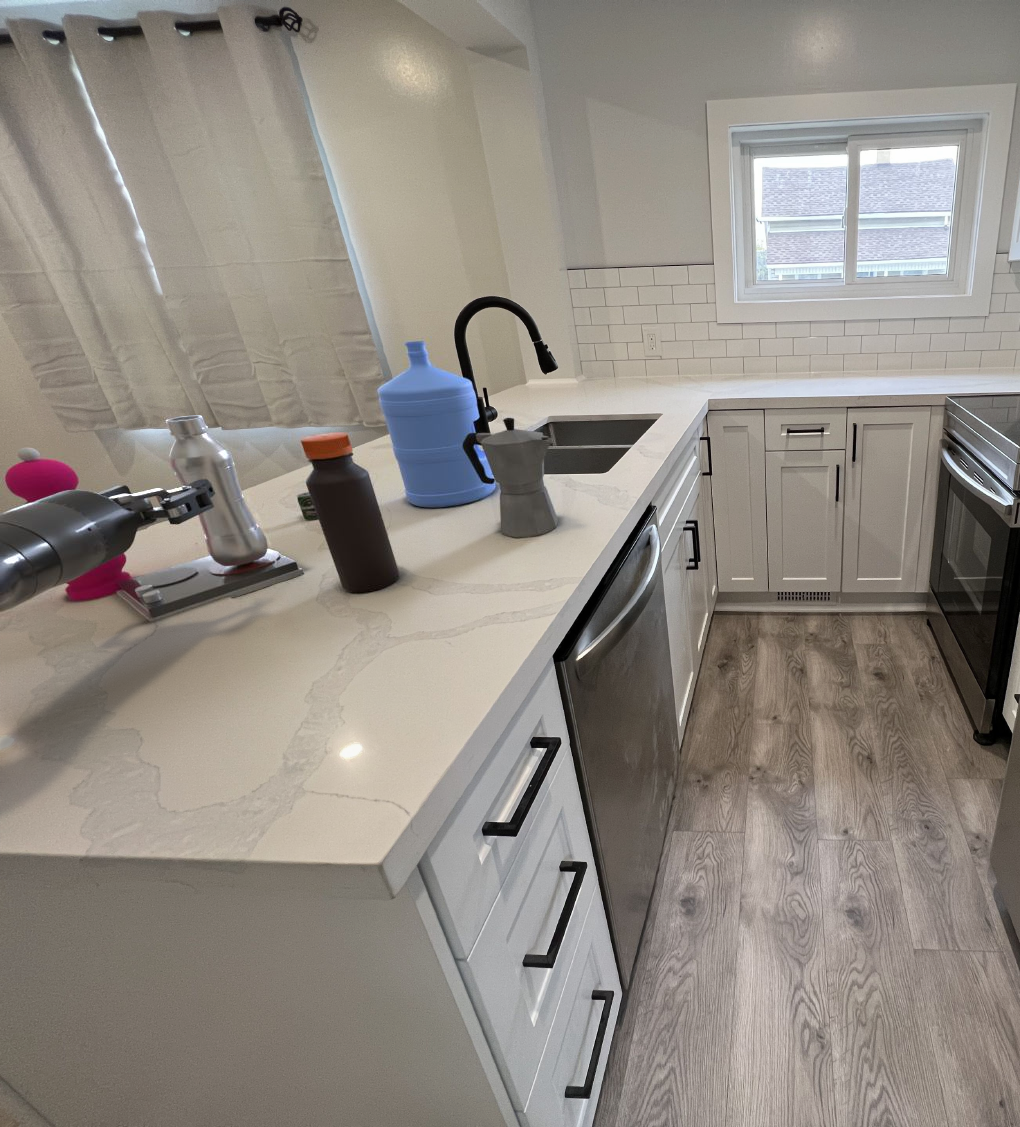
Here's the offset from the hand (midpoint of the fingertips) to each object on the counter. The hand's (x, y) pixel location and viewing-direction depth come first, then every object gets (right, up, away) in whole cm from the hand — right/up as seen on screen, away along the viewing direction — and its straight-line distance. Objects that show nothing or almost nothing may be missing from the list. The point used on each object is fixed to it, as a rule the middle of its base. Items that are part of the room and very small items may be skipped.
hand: (168, 490), depth 72 cm
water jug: (+12, +4, +44) cm, 46 cm away
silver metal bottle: (-1, -9, +12) cm, 15 cm away
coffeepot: (+33, -3, +27) cm, 43 cm away
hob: (-4, -12, +11) cm, 17 cm away
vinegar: (+18, -12, +10) cm, 24 cm away
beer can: (-8, -1, +35) cm, 36 cm away
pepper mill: (-18, -13, +10) cm, 24 cm away
